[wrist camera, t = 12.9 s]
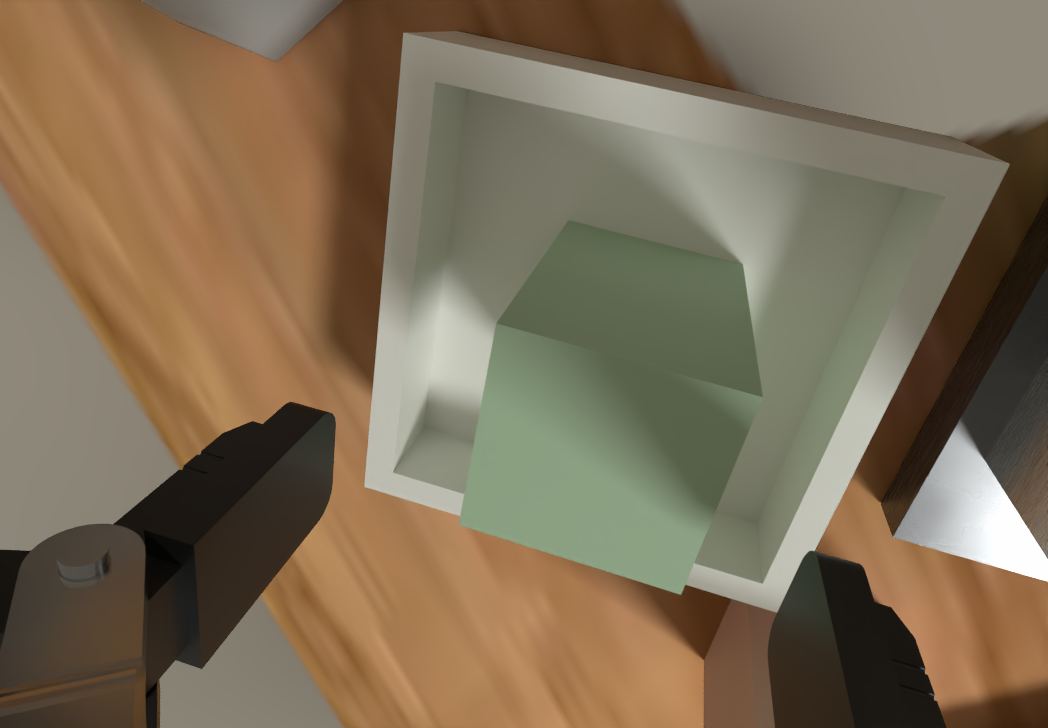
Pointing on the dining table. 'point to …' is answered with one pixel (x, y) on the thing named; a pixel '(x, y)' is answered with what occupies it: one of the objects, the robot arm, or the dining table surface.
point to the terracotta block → (739, 670)
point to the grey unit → (988, 434)
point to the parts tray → (675, 220)
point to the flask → (250, 21)
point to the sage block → (615, 405)
